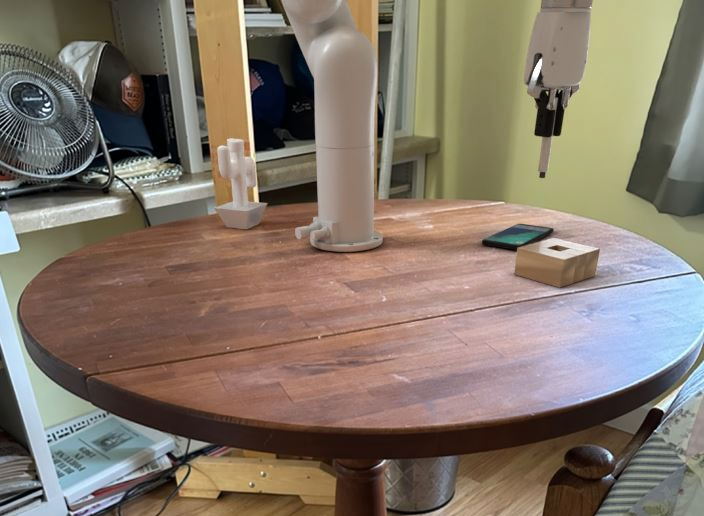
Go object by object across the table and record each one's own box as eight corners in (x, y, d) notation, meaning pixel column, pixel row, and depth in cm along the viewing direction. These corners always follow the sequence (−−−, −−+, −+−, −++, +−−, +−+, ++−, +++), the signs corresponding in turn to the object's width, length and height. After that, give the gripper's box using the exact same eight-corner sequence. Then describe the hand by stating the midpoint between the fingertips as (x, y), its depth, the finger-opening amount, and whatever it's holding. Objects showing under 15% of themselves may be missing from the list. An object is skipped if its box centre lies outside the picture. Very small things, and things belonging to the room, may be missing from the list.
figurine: (271, 221, 136) (266, 136, 127) (245, 233, 128) (237, 143, 120) (240, 218, 138) (232, 134, 130) (212, 229, 131) (202, 141, 123)
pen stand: (559, 287, 100) (564, 259, 98) (513, 274, 105) (517, 247, 103) (595, 276, 104) (600, 248, 102) (549, 263, 110) (553, 237, 107)
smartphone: (555, 228, 125) (518, 246, 115) (554, 232, 125) (518, 251, 115) (518, 222, 128) (479, 240, 118) (518, 227, 129) (479, 244, 119)
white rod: (542, 178, 118) (553, 98, 112) (535, 177, 119) (545, 97, 113) (548, 177, 119) (559, 97, 113) (541, 176, 120) (551, 97, 114)
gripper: (577, 2, 112) (558, 130, 122) (513, 1, 104) (498, 137, 114) (618, 1, 107) (594, 134, 117) (554, -1, 99) (534, 142, 109)
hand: (547, 135), depth 116 cm, fingers closed on white rod, 1 cm apart
